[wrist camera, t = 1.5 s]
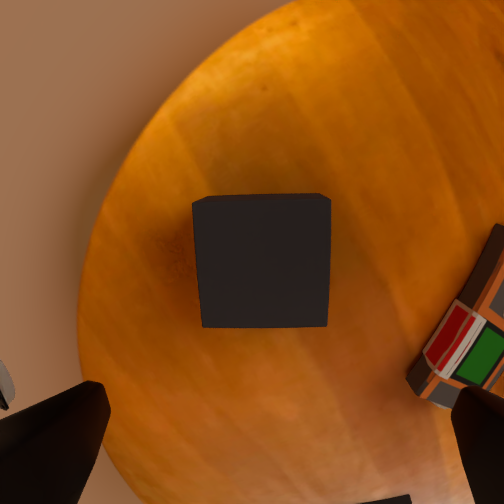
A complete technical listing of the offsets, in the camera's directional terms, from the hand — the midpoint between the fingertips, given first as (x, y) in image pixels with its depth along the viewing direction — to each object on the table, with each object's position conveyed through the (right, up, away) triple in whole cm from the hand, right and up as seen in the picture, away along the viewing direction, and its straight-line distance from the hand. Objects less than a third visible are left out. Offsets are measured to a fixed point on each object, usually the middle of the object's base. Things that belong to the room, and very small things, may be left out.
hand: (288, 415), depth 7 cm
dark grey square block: (0, +4, +12) cm, 12 cm away
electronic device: (+16, 0, +12) cm, 20 cm away
